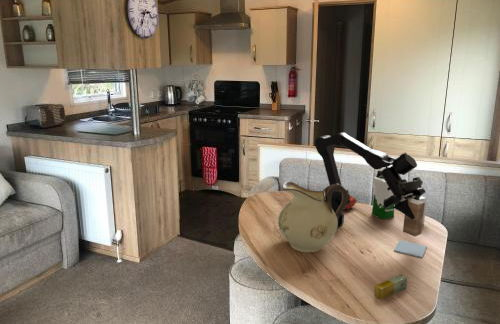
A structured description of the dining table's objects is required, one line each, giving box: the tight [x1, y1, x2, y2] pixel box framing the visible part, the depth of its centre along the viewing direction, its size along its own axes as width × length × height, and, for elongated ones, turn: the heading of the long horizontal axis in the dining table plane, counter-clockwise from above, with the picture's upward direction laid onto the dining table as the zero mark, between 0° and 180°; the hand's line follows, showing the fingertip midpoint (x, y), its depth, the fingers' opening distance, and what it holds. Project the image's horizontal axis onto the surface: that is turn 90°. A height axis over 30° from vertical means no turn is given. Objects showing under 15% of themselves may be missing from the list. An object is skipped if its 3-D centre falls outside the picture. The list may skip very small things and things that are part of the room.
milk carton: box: [371, 176, 395, 220], centre depth 178 cm, size 9×9×20 cm
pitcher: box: [277, 181, 348, 254], centre depth 150 cm, size 22×24×25 cm
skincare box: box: [419, 195, 427, 225], centre depth 172 cm, size 6×4×12 cm
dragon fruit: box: [344, 193, 357, 211], centre depth 189 cm, size 8×8×12 cm
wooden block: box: [402, 199, 425, 238], centre depth 146 cm, size 4×5×12 cm
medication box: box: [374, 274, 408, 300], centre depth 122 cm, size 12×3×4 cm, turn 121°
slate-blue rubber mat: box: [393, 239, 428, 259], centre depth 149 cm, size 10×10×1 cm
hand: (417, 217), depth 144 cm, fingers closed on wooden block, 4 cm apart
